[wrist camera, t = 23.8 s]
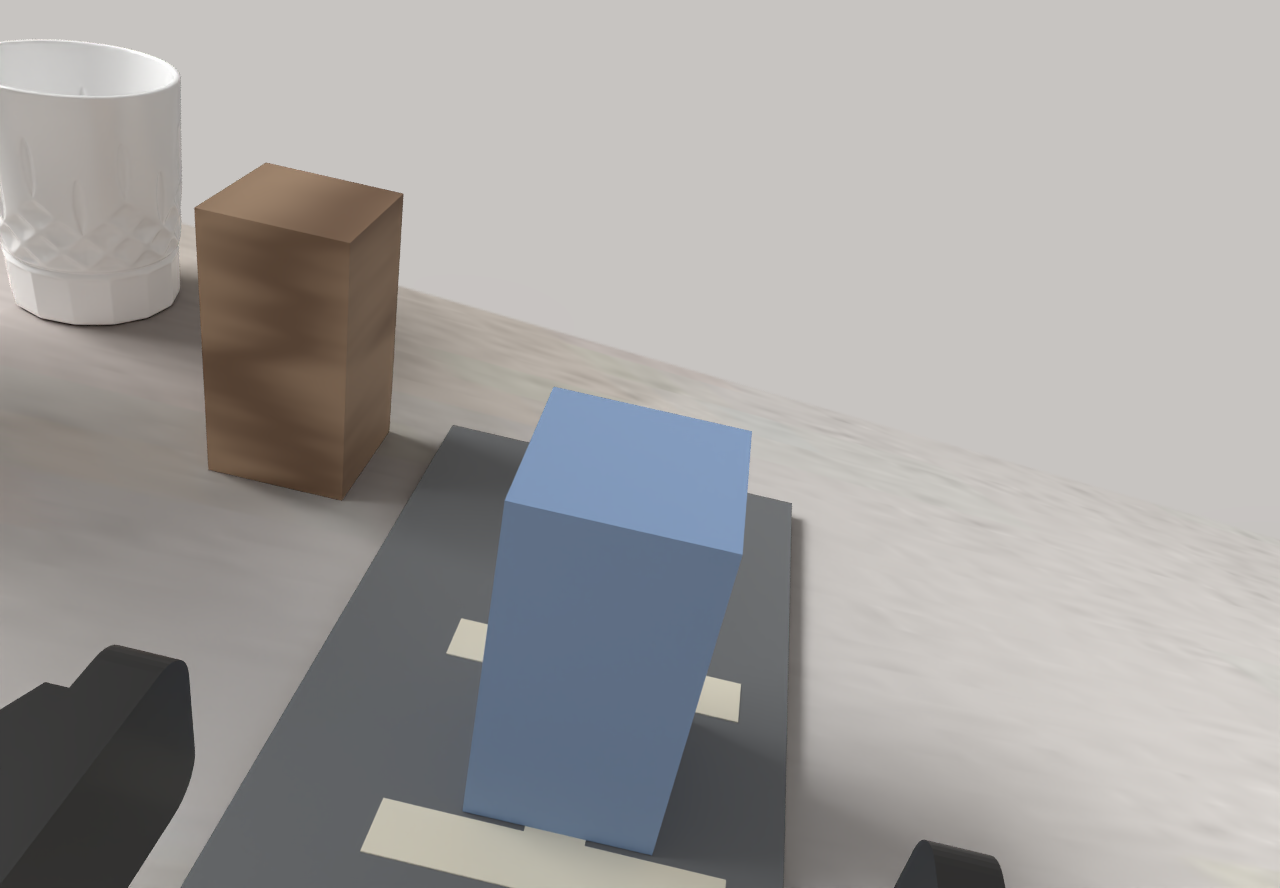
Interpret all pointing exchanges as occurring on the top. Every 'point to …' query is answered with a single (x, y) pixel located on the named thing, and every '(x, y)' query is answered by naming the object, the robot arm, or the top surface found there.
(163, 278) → the white cup
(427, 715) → the letter mat
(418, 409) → the top surface
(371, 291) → the walnut block
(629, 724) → the blue block
